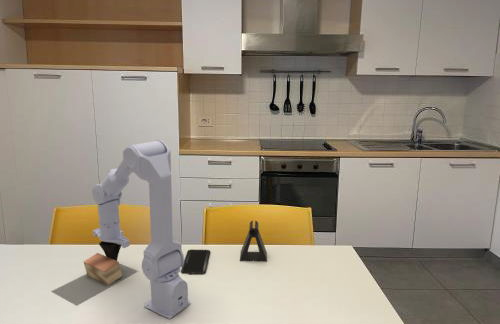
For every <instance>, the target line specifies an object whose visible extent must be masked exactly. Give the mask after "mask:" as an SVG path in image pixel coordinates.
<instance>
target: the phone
mask: <svg viewBox="0 0 500 324" xmlns="http://www.w3.org/2000/svg"><path fill="white" fill-rule="evenodd" d="M210 255H211V250H210V249H188V250H187V252H186V254H185V257H184V264H183V266H182V267H180V273H181V274H184V275H196V276H197V275H205V274H206V273H207V269H208V265H209V261H210Z"/></svg>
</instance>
